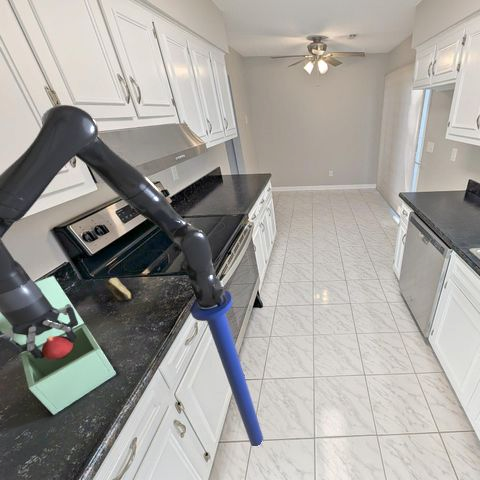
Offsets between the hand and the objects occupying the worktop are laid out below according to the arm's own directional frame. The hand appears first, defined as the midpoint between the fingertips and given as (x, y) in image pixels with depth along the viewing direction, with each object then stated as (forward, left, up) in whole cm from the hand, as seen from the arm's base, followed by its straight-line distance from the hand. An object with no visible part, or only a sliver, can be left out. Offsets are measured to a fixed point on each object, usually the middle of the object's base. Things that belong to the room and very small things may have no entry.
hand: (58, 348), depth 69 cm
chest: (0, 0, -12) cm, 12 cm away
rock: (+11, -40, -13) cm, 43 cm away
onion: (0, 0, -4) cm, 4 cm away
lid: (+7, -6, +7) cm, 12 cm away
